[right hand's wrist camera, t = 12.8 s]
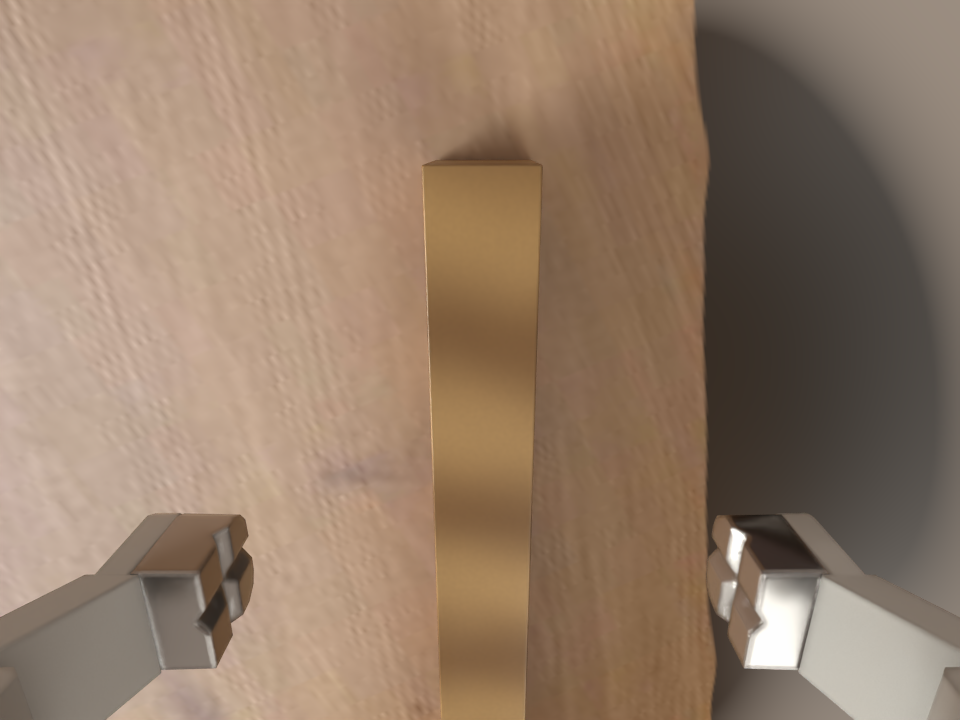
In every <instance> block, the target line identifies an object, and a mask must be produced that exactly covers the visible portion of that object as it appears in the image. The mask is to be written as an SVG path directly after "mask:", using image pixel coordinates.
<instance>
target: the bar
mask: <svg viewBox="0 0 960 720" xmlns="http://www.w3.org/2000/svg"><path fill="white" fill-rule="evenodd" d="M542 170H543V167H542V165H541V164H539V163H536V162H534V161H532V160H435V161H433V162H430V163H427V164H424V165H422V189H423V217H424V246H425V275H426V303H427V332H428V361H429V390H430V418H431V447H432V476H433V504H434V533H435V562H436V591H437V619H438V648H439V677H440V706H441V720H525V714H526V682H527V650H528V618H529V586H530V554H531V522H532V490H533V458H534V426H535V394H536V362H537V330H538V298H539V266H540V234H541V202H542Z"/></svg>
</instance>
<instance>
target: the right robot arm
mask: <svg viewBox="0 0 960 720" xmlns="http://www.w3.org/2000/svg"><path fill="white" fill-rule="evenodd" d="M247 537H248V531H247V526H246V521H245V519H244V518H243V517H242V516H241V515H233V514H186V513H184V514H180V513H155V514H152V515H149V516H147V517H146V518H145V519H144V520H143V521H142V523H141V524H140V525H139V526H138V527H137V528H136V529H135V530H134V531H133V533H132V534H131V535H130V536H129V537H128V538H127V539H126V540H125V542H124V543H123V544H122V545H121V546H120V547H119V548H118V549H117V550H116V552H115V553H114V554H113V555H112V556H111V557H110V558H109V559H108V560H107V562H106V563H105V564H104V565H103V566H102V567H101V568H100V569H99V570H98V572H97V573H96V574H95V575H84V576H82V577H80V578H78V579H76V580H74V581H72V582H70V583H68V584H66V585H64V586H62V587H60V588H58V589H56V590H54V591H52V592H50V593H48V594H46V595H44V596H42V597H40V598H38V599H36V600H34V601H32V602H30V603H28V604H26V605H24V606H22V607H20V608H18V609H16V610H14V611H12V612H10V613H8V614H6V615H4V616H2V617H0V720H106V719H107V718H108V717H109V716H111V715H112V714H113V713H114V712H115V711H117V710H118V709H119V708H120V707H121V706H122V705H124V704H125V703H126V702H127V701H128V700H130V699H131V698H132V697H133V696H134V695H136V694H137V693H138V692H139V691H140V690H142V689H143V688H144V687H145V686H146V685H147V684H149V683H150V682H151V681H152V680H153V679H155V678H156V677H157V676H158V675H159V674H161V670H173V669H207V668H216V667H217V665H218V663H219V661H220V659H221V657H222V655H223V653H224V651H225V649H226V647H227V646H228V644H229V642H230V640H231V638H232V636H233V634H232V628H231V623H232V622H233V621H234V620H236V619H237V618H239V617H240V616H241V615H243V614H244V612H245V609H246V607H247V605H248V603H249V601H250V597H251V592H252V588H253V579H254V568H253V561H252V557H251V556H250V555H249V554H248V553H247V552H246V551H245V550H244V549H243V548H242V546H243V544H244V543H245V541H246V539H247ZM712 537H713V539H714V541H715V543H716V544H717V546H718V548H717V549H716V550H715V551H714V552H713V553H712V554H711V555H710V556H709V557H708V562H707V570H706V578H707V589H708V593H709V597H710V600H711V603H712V605H713V607H714V609H715V612H716V614H717V615H719V616H720V617H721V618H723V619H724V620H726V621H727V622H728V623H729V628H728V634H727V636H728V638H729V640H730V641H731V644H732V645H733V647H734V649H735V651H736V653H737V655H738V657H739V659H740V661H741V663H742V665H743V667H744V668H751V669H786V670H799V673H800V674H801V675H802V676H803V677H805V678H806V679H807V680H808V681H809V682H810V683H812V684H813V685H814V686H815V687H816V688H818V689H819V690H820V691H821V692H822V693H824V694H825V695H826V696H827V697H828V698H829V699H831V700H832V701H833V702H834V703H835V704H837V705H838V706H839V707H840V708H841V709H842V710H844V711H845V712H846V713H847V714H848V715H850V716H851V717H852V718H853V719H854V720H960V617H958V616H956V615H954V614H952V613H950V612H948V611H946V610H944V609H942V608H940V607H938V606H936V605H934V604H932V603H930V602H928V601H926V600H924V599H922V598H920V597H918V596H916V595H914V594H912V593H910V592H908V591H906V590H904V589H902V588H900V587H898V586H896V585H894V584H892V583H890V582H888V581H886V580H884V579H882V578H880V577H878V576H876V575H865V574H864V573H863V572H862V571H861V569H860V568H859V567H858V566H857V565H856V564H855V563H854V562H853V561H852V559H851V558H850V557H849V556H848V555H847V554H846V553H845V552H844V550H843V549H842V548H841V547H840V546H839V545H838V544H837V543H836V542H835V540H834V539H833V538H832V537H831V536H830V535H829V534H828V533H827V531H826V530H825V529H824V528H823V527H822V526H821V525H820V524H819V523H818V521H817V520H816V519H815V518H814V517H813V516H811V515H809V514H807V513H789V514H776V515H718V516H717V518H716V520H715V522H714V524H713V530H712Z"/></svg>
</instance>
